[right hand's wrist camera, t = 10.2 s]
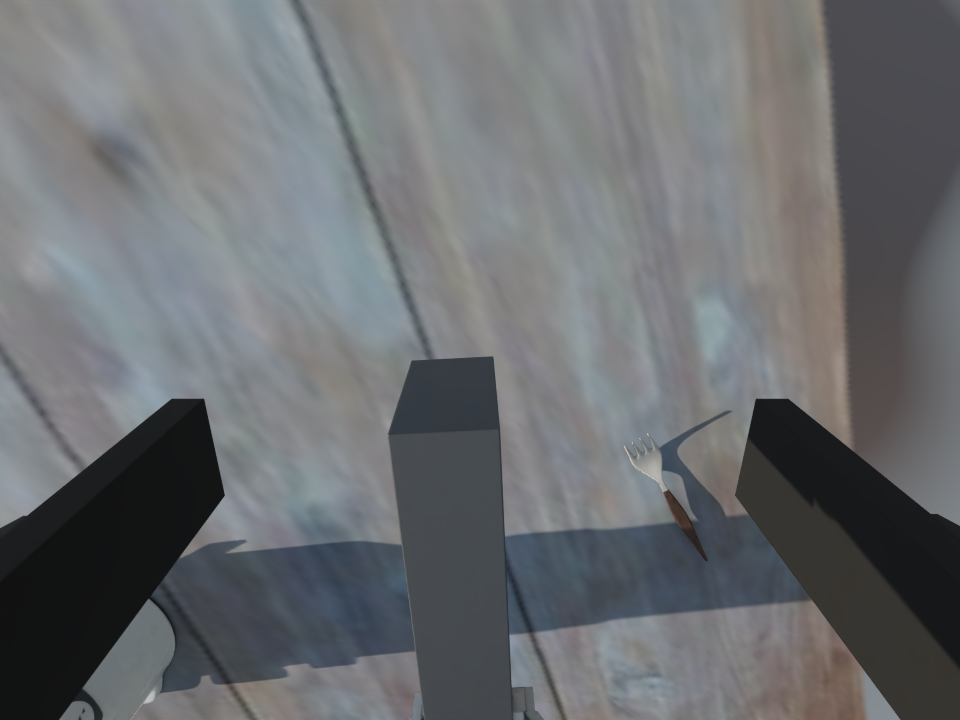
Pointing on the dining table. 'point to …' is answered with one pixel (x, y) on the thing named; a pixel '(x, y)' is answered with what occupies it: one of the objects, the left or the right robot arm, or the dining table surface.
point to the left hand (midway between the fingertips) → (475, 695)
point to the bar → (454, 536)
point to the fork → (663, 486)
